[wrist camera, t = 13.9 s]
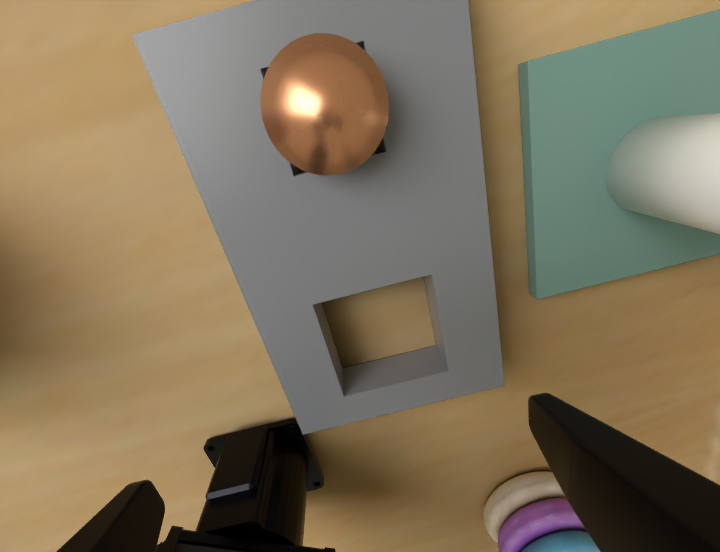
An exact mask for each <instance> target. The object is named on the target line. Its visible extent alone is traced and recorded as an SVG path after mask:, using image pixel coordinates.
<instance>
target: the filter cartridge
mask: <svg viewBox="0 0 720 552" xmlns="http://www.w3.org/2000/svg"><path fill="white" fill-rule="evenodd" d="M606 186H607V190H608V193H609V195H610V197H611V199H612V200H613V201H614V202H615V203H616V204H617V205H618V206H620V207H621V208H624V209H626V210H630V211H634V212H638V213H641V214H645V215H649V216H653V217H657V218H660V219H664V220H668V221H672V222H675V223H679V224H683V225H687V226H690V227H694V228H698V229H702V230H706V231H709V232H713V233H717V234H720V113H716V114H696V115H676V116H660V117H655V118H652V119H649V120H647V121H645V122H643V123H641V124H639V125H638V126H636V127H635V128H634V129H632V130H631V131H630V132H629V133H628V134H627V135H626V136H625V137H624V138H623V139H622V140H621V141H620V143H619V144H618V145H617V147H616V149H615V150H614V152H613V154H612V156H611V158H610V161H609V164H608V167H607V172H606Z"/></svg>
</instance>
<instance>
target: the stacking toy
mask: <svg viewBox="0 0 720 552" xmlns="http://www.w3.org/2000/svg"><path fill="white" fill-rule="evenodd" d="M483 519H484V525H485V528H486V530H487V532H488V534H489V535H490V537H491V538H492V539H493V540H494V541H495V542H496V543H497V544H498V547H499V551H500V552H600V550H599V549H598V547H597V546H596V544H595V543H594V541H593V540H592V538H591V537H590V535H589V533H588V532H587V530H586V529H585V527H584V526H583V524H582V523H581V521H580V520H579V518H578V516H577V515H576V513H575V512H574V510H573V509H572V507H571V505H570V504H569V502H568V500H567V499H566V497H565V495H564V493H563V491H562V489H561V488H560V486H559V484H558V482H557V480H556V478H555V476H554V474H553V472H532V473H527V474H523V475H520V476H517V477H514V478H512V479H510V480H508V481H507V482H505V483H503V484H502V485H501V486H499V487H498V488H497V489H496V490H495V491H494V492H493V493H492V494H491V495H490V497H489V498H488V500H487V502H486V504H485V507H484V513H483Z"/></svg>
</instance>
